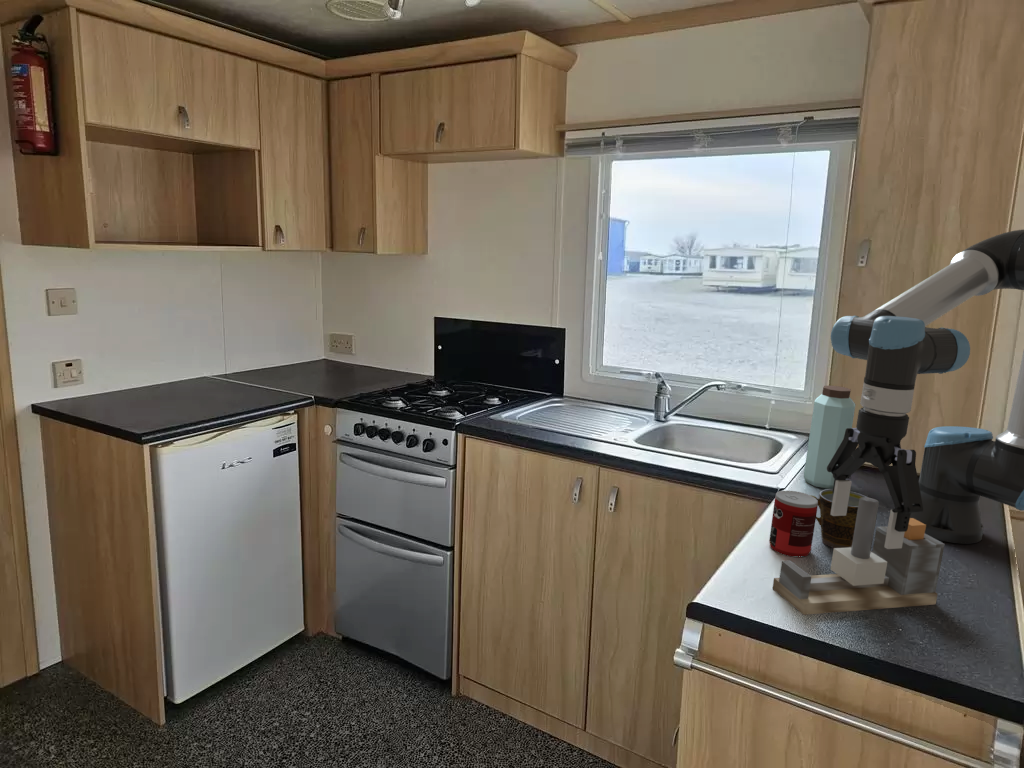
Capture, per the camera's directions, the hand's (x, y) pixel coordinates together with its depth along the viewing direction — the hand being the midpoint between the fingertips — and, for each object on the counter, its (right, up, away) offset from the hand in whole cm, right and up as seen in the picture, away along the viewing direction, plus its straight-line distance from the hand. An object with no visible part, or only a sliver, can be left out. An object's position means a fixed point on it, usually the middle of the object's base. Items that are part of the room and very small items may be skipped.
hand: (864, 530), depth 124 cm
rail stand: (-1, -12, +3) cm, 12 cm away
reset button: (+9, -2, +3) cm, 10 cm away
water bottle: (+19, 0, +62) cm, 64 cm away
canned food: (-5, -8, +21) cm, 23 cm away
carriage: (0, -8, +2) cm, 8 cm away
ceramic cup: (+5, -8, +25) cm, 27 cm away
